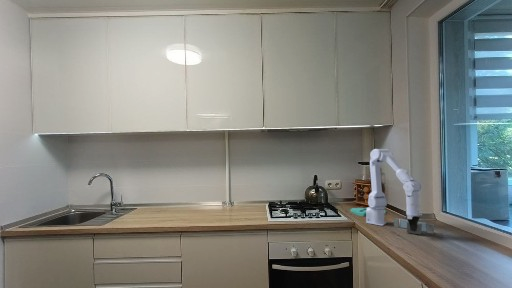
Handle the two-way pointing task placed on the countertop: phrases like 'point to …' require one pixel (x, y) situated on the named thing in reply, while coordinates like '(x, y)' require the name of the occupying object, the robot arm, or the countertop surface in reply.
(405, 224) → the pale blue stick
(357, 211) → the teal pixel art cutout
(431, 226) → the grey long flat piece
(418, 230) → the block
